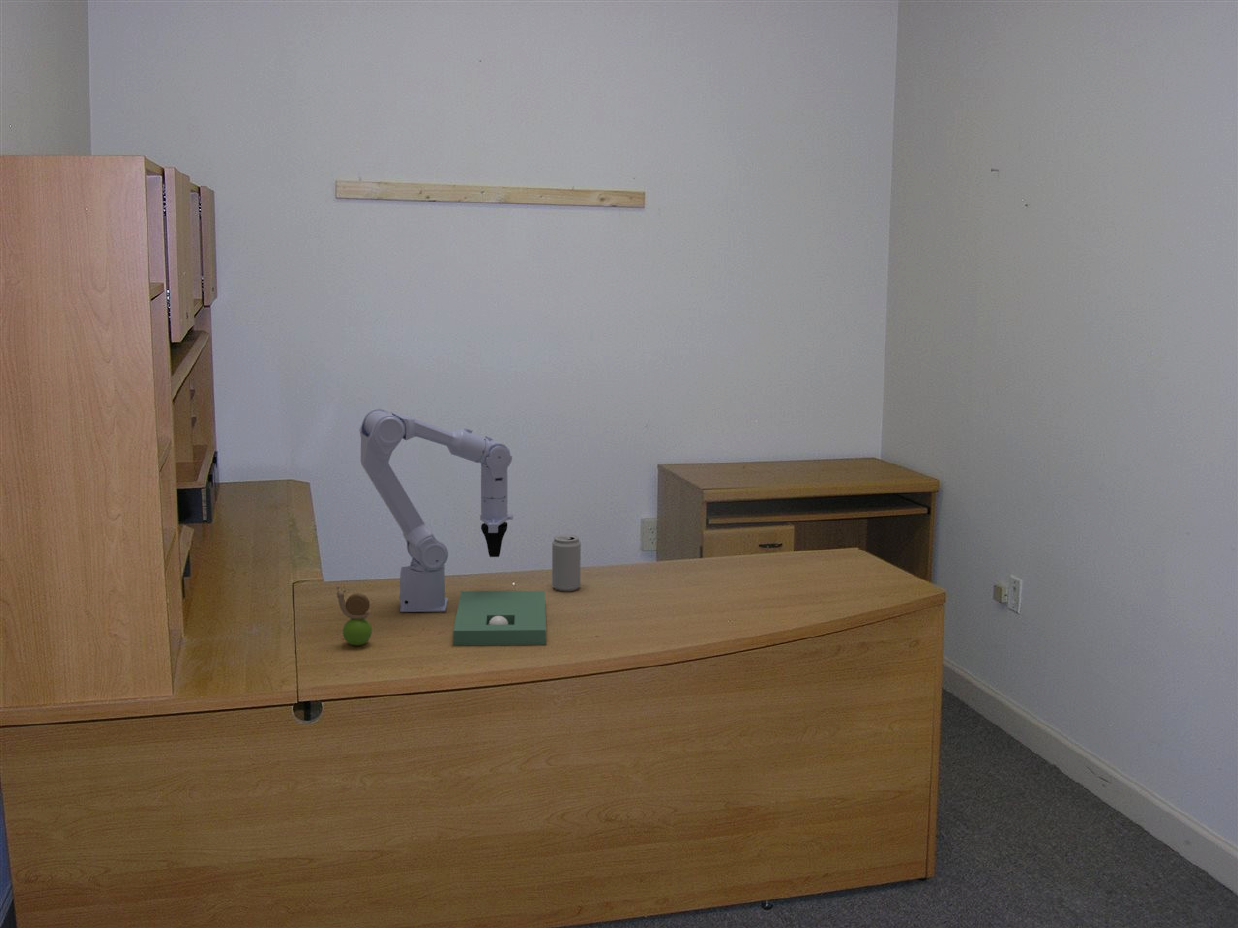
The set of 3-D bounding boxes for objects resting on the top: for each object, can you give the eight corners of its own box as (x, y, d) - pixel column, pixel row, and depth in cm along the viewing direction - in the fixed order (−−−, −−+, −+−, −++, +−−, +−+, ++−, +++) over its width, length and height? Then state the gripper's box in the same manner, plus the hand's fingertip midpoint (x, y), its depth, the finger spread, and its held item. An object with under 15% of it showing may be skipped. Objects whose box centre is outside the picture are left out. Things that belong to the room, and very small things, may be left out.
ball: (488, 637, 217) (487, 617, 217) (489, 634, 221) (488, 614, 221) (508, 636, 217) (507, 616, 217) (509, 633, 221) (508, 614, 221)
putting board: (453, 645, 213) (453, 630, 213) (461, 604, 237) (461, 591, 236) (545, 644, 215) (545, 630, 214) (544, 604, 238) (544, 590, 238)
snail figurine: (340, 639, 215) (338, 581, 213) (373, 639, 216) (372, 581, 213) (336, 649, 210) (333, 590, 208) (370, 649, 211) (368, 589, 208)
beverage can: (576, 593, 246) (577, 542, 243) (548, 591, 247) (549, 539, 245) (583, 584, 252) (583, 534, 249) (556, 582, 253) (556, 532, 251)
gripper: (512, 504, 231) (512, 565, 234) (513, 488, 245) (513, 546, 248) (478, 503, 230) (478, 565, 233) (481, 488, 244) (482, 546, 247)
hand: (494, 556), depth 240 cm, fingers closed
